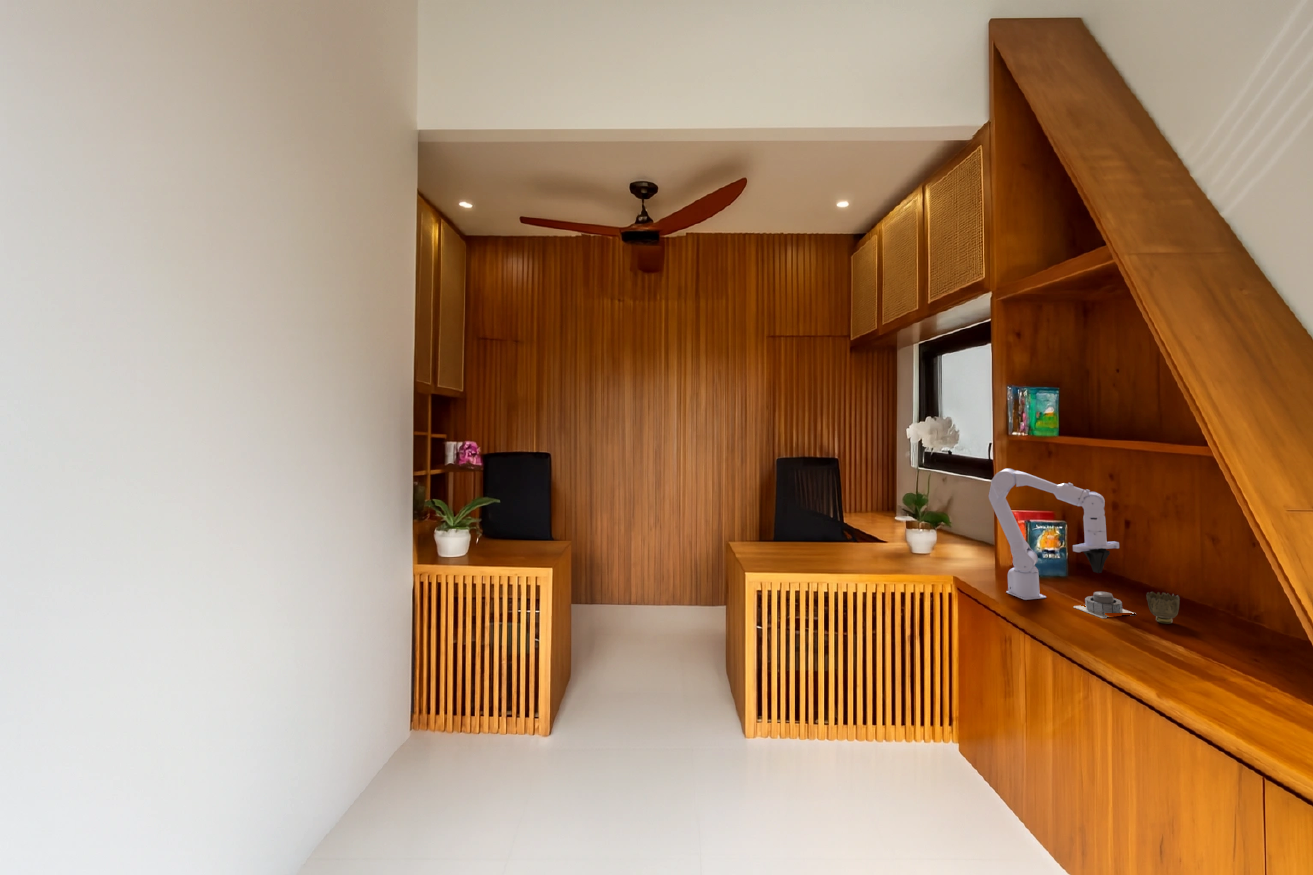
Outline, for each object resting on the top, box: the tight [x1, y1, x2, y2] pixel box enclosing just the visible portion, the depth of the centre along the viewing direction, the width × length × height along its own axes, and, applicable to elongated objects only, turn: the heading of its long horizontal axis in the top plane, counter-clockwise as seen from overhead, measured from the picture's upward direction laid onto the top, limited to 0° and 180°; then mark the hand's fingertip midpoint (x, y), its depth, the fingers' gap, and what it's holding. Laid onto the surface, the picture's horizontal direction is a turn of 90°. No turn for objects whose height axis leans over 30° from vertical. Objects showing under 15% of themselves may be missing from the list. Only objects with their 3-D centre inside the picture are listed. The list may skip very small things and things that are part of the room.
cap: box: [1092, 591, 1114, 604], centre depth 182 cm, size 5×5×5 cm
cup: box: [1145, 591, 1181, 625], centre depth 170 cm, size 8×7×8 cm
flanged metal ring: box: [1073, 595, 1137, 619], centre depth 182 cm, size 11×11×3 cm
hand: (1097, 572), depth 188 cm, fingers closed
